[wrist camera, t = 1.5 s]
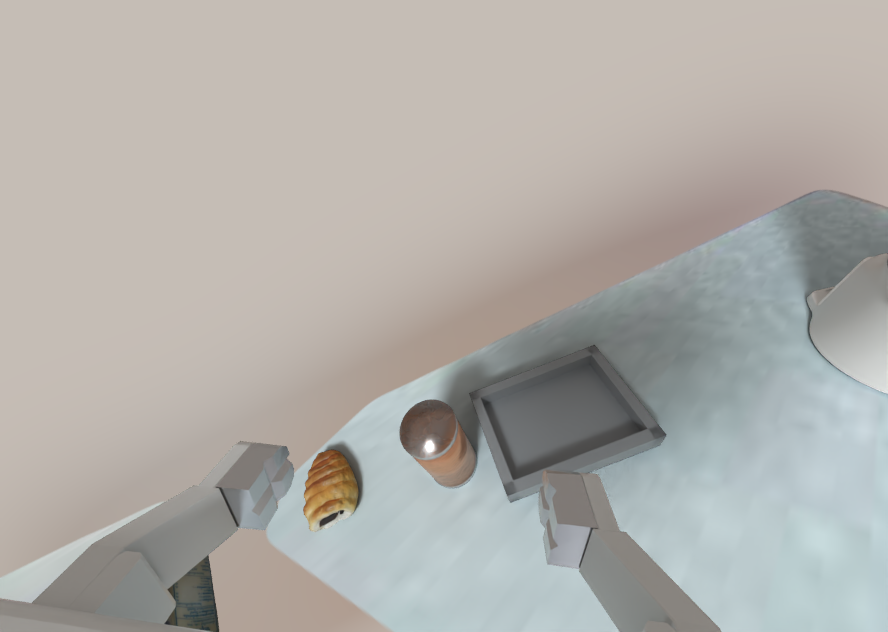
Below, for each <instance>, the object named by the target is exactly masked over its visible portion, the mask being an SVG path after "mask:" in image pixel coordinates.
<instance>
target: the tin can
mask: <svg viewBox="0 0 888 632" xmlns="http://www.w3.org/2000/svg"><path fill="white" fill-rule="evenodd" d="M400 440H401V443H402V445H403V447H404V449H405V450H406V451H407V452H408V453H409V454H410V455H411V456H413V457H414V458H415V459H416V460H417V461H418V462H419V464H420V465H421V466H422V467H423V468H424V469H425V470H426V471H427V472H428V473H429V474H430V475H431V476H432V477H433V478H434V479H435V480H436V481H437V482H438V483H439V484H440V485H441V486H444V487H446V488H458V487H461V486H463V485H465V484H466V483H467V482H468V481H469V480H470V479H471V478H472V477H473V475H474V473H475V470H476V466H477V457H476V453H475V451H474V449H473V447H472V445H471V444H470V442H469V440H468V438H467V437H466V435H465V433H464V431H463V429H462V427H461V426H460V424H459V422H458V420H457V418H456V415H455V414H454V412H453V410H452V409H451V408H450V407H449V406H448V405H447V404H446V403H444V402H442V401H439V400H425V401H422V402H420V403H418V404H416V405H414V406H413V407H412V408H411V409H410V410H409V411H408V412H407V413H406V415H405V416H404V418H403V420H402V422H401V426H400Z"/></svg>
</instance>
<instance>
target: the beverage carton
mask: <svg viewBox="0 0 888 632" xmlns="http://www.w3.org/2000/svg"><path fill="white" fill-rule="evenodd" d="M167 590H168V591H169V593H170V594H171V595H172V597H173V598H174V599H175V601H176V607H175V609H174V610H173V612H172V613H171V615H170V616H169V618H168V619H167V621H166V622H165V624H166V625H173V626H179V627H186V628H192V629H198V630H205V631H211V632H219V626H218V617H217V610H216V603H215V597H214V591H213V584H212V576H211V570H210V563H209V557H208V555H207V556H206V557H205V558H204V559H203V560H202V561H200V562H199V563H198V564H197V565H196V566H194V567H193V568H192V569H191V570H190V571H188V572H187V573H186V574H185V575H184V576H183V577H181V578H180V579H179V580H178V581H177V582H175V583H174V584H173V585H172V586H171V587H170V588H168V589H167Z"/></svg>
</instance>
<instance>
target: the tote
mask: <svg viewBox="0 0 888 632" xmlns="http://www.w3.org/2000/svg"><path fill="white" fill-rule="evenodd" d="M469 394H470V397H471V399H472V402H473V405H474V408H475V410H476V413H477V416H478V418H479V421H480V424H481V427H482V429H483V432H484V435H485V437H486V440H487V443H488V445H489V448H490V451H491V454H492V456H493V459H494V462H495V464H496V467H497V470H498V472H499V475H500V478H501V481H502V483H503V486H504V489H505V491H506V494H507V497H508V499H509V501H510V503H511V502H514V501H516V500H519V499H522V498H524V497H527V496H529V495H532V494H535V493H537V492H539V490H540V487H542V486H543V482H542V474H543V471H544V470H545V469H546V470H558V471H571V472H578V473H589V472H592V471H594V470H597V469H600V468H602V467H605V466H608V465H610V464H613V463H615V462H618V461H621V460H623V459H626V458H628V457H631V456H634V455H636V454H639V453H641V452H644V451H647V450H649V449H652V448H654V447H657V446H660V445H661V443H662V442H663V440H664V438H665V437H666V434H665V433H664V431H663V430H662V429H661V428H660V426H659V425H658V424H657V423H656V421H655V420H654V419H653V417H652V416H651V415H650V414H649V412H648V411H647V410H646V409H645V407H644V406H643V405H642V404H641V402H640V401H639V400H638V399H637V397H636V396H635V395H634V394H633V392H632V391H631V390H630V389H629V387H628V386H627V385H626V384H625V382H624V381H623V380H622V379H621V377H620V376H619V375H618V374H617V372H616V371H615V370H614V369H613V367H612V366H611V365H610V364H609V362H608V361H607V360H606V359H605V357H604V356H603V355H602V354H601V352H600V351H599V350H598V349H597V347H596V346H595V345H593V346H590V347H588V348H585V349H583V350H580V351H578V352H575V353H572V354H570V355H567V356H565V357H562V358H559V359H557V360H554V361H552V362H549V363H547V364H544V365H541V366H539V367H536V368H534V369H531V370H528V371H526V372H523V373H521V374H518V375H515V376H513V377H510V378H508V379H505V380H503V381H500V382H497V383H495V384H492V385H490V386H487V387H484V388H482V389H479V390H477V391H474V392H472V393H469Z"/></svg>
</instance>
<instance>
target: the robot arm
mask: <svg viewBox="0 0 888 632" xmlns="http://www.w3.org/2000/svg"><path fill="white" fill-rule="evenodd" d="M807 303H808V305H809V307H810V309H811V311H812V319H811V322H810V328H809V330H810V336H811V338H812V341H813V343H814V345H815V346H816V348H817V349H818V350H819V352H820V353H821V354H822V355H823V356H824V357H825V358H826V359H827V360H828V361H829V362H830V363H832V364H833V365H834V366H835V367H837V368H838V369H839V370H841V371H842V372H844V373H845V374H847V375H848V376H850V377H852V378H854V379H855V380H857V381H859V382H861V383H863V384H865V385H867V386H869V387H871V388H874V389H876V390H878V391H881V392H884V393H886V394H888V253H885V254H880V255H877V256H874V257H867V258H865V259H864V260H862V261H861V262H860V263H859V264H858V265H857V266H856V267H855V268H854V269H853V270H852V271H851V272H850V273H849V274H848V275H847V276H846V277H845V278H844V279H843V280H842V281H841V282H840V283H839V284H838V285H837V286H835V287H830V288H825V289H820V290H816V291H814V292H812V293H811V294H810V295H809V296H808V297H807ZM288 455H289V451H288V449H287V447H286V446H277V445H270V444H261V443H252V442H243V441H240V442H238V443H237V444H235V445H234V446H233V447H232V448H231V450H230V451H229V452H228V453H227V454H226V455H225V456H224V457H223V459H222V460H221V461H220V462H219V463H218V464H217V465H216V466H215V467H214V469H213V470H212V471H211V472H210V473H209V474H208V475H207V477H206V478H205V479H204V480H203V481H202V482H201V483H200V485H199V486H192V487H190V488H189V489H187V490H185V491H183V492H182V493H180V494H178V495H176V496H175V497H173V498H171V499H170V500H168V501H166V502H164V503H163V504H161V505H159V506H157V507H156V508H154V509H152V510H150V511H149V512H147V513H145V514H143V515H142V516H140V517H138V518H137V519H135V520H133V521H131V522H130V523H128V524H126V525H124V526H123V527H121V528H119V529H117V530H116V531H114V532H112V533H111V534H109V535H107V536H105V537H104V538H102V539H100V540H98V541H97V542H95V543H93V544H92V545H91V546H90V547H89V548H88V549H87V550H86V551H85V552H84V553H83V554H81V555H80V556H79V557H78V558H77V559H76V560H75V561H74V562H73V563H72V564H71V565H70V566H69V567H68V568H67V569H66V570H65V571H64V572H63V573H62V574H61V575H60V576H59V577H58V578H57V579H56V580H55V581H54V582H53V583H52V584H51V585H50V586H49V587H48V588H47V589H46V590H45V591H44V592H43V593H42V594H40V595H39V596H38V597H37V598H36V599H35V600H34V601H33V602H32V603H26V602H20V601H14V600H7V599H1V598H0V632H211V631H205V630H198V629H192V628H186V627H179V626H173V625H166V624H165V622H166V621H167V619H168V618H169V616H170V615H171V613H172V612H173V610H174V609H175V607H176V601H175V599H174V598H173V597H172V595H171V594H170V593H169V591H168V590H167V589H168V588H170V587H171V586H172V585H173V584H174V583H175V582H177V581H178V580H179V579H180V578H181V577H183V576H184V575H185V574H186V573H187V572H188V571H190V570H191V569H192V568H193V567H194V566H196V565H197V564H198V563H199V562H200V561H202V560H203V559H204V558H205V557H206V556H207V555H209V554H210V553H211V552H212V551H213V550H215V548H217V547H218V546H219V545H220V544H222V543H223V542H224V541H225V540H226V539H228V538H229V537H230V536H231V535H232V534H233V533H235V532H236V531H237V530H238V528H246V529H258V530H265V529H266V527H267V526H268V524H269V522H270V521H271V519H272V517H273V516H274V514H275V512H276V511H277V509H278V506H277V501H278V500H279V499H281V498H282V497H283V496H285V495H286V494H287V492H288V490H289V488H290V487H291V484H292V480H293V477H294V468H293V464H292V463H291V462H290V461H289V460H288V459H287V457H288ZM542 482H543V486H542V487H540V490H539V502H538V506H539V516H540V522H541V524H542V525H543V526H544V527H545V532H544V536H543V541H544V547H545V553H546V559H547V564H549V565H556V566H562V567H569V568H576V569H579V572H580V573H581V575H582V576H583V578H584V579H585V581H586V582H587V584H588V585H589V587H590V588H591V590H592V591H593V593H594V594H595V596H596V597H597V598H598V600H599V601H600V603H601V604H602V606H603V607H604V609H605V610H606V612H607V613H608V615H609V616H610V618H611V619H612V621H613V622H614V624H615V625H616V627H617V628H618V630H619V631H620V632H721V630H720V628H719V627H718V626H717V625H716V624H715V623H714V622H713V621H712V620H711V619H710V618H709V617H708V616H707V615H706V614H705V613H704V612H703V611H702V610H701V609H700V608H699V607H698V606H697V605H696V604H695V603H694V602H693V601H692V600H691V599H690V598H689V596H688V595H687V594H686V593H685V592H684V591H683V590H682V589H681V588H680V587H679V586H678V585H677V584H676V583H675V582H674V581H673V580H672V579H671V578H670V577H669V576H668V575H667V574H666V573H665V572H664V571H663V570H662V569H661V568H660V567H659V566H658V565H657V564H656V563H655V562H654V561H653V560H652V559H651V557H650V556H649V555H648V554H647V553H646V552H645V551H644V550H643V549H642V548H641V547H640V546H639V545H638V544H637V543H636V542H635V541H634V540H633V539H632V538H631V537H630V536H629V535H628V534H627V533H626V532H621V531H620V530H619V527H618V524H617V522H616V519H615V516H614V514H613V511H612V508H611V506H610V503H609V500H608V498H607V495H606V492H605V490H604V487H603V484H602V482H601V479H600V477H599V476H598V475H597V474H590V473H578V472H571V471H558V470H546V469H545V470H544V471H543V474H542Z"/></svg>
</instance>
